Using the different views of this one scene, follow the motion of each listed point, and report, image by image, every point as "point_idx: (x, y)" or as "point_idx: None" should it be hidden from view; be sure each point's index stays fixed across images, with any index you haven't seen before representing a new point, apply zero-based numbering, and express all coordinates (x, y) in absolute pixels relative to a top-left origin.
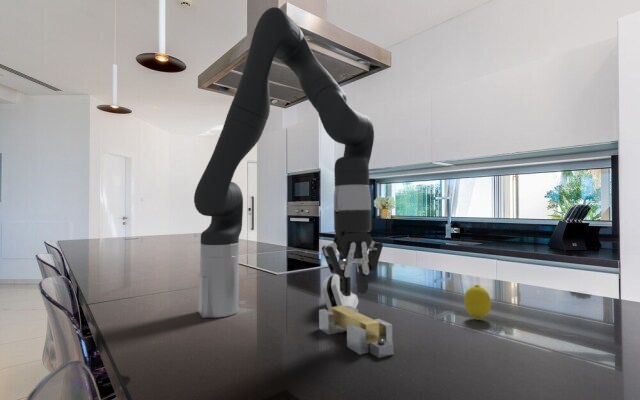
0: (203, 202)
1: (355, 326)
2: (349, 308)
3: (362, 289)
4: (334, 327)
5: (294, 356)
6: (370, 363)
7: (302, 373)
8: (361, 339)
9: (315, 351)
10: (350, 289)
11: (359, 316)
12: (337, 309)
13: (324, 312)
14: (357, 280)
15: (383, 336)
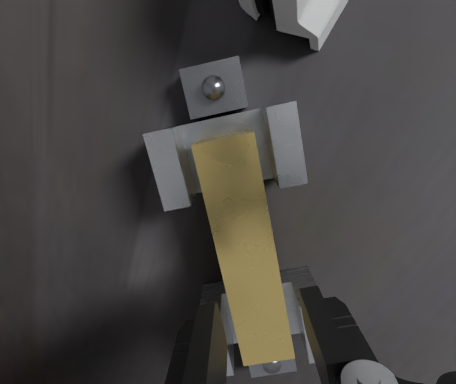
0: None
1: None
2: (279, 153)
3: (308, 339)
4: (198, 191)
5: (63, 297)
6: None
7: (74, 368)
8: None
9: (117, 286)
10: (225, 373)
11: (260, 293)
12: (210, 189)
13: (156, 178)
14: (313, 329)
15: (299, 326)
